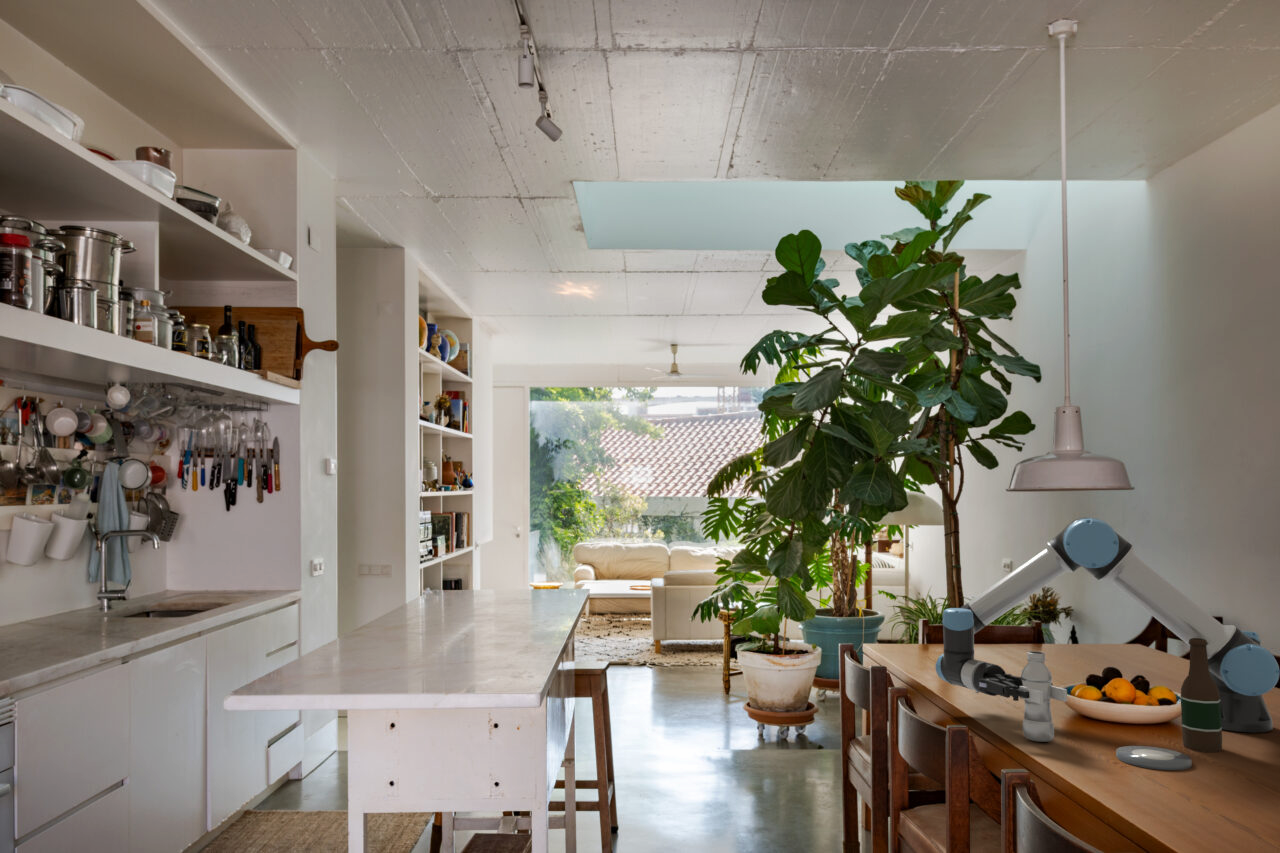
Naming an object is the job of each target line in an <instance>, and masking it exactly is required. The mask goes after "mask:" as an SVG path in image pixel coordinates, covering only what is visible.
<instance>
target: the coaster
mask: <svg viewBox="0 0 1280 853" xmlns="http://www.w3.org/2000/svg"><path fill="white" fill-rule="evenodd" d="M1115 756H1116V758H1117V759H1118V760H1119V761H1121V762H1122V763H1125V764H1127V765H1131V766H1135V767H1139V768H1144V769H1150V770H1151V769H1152V770H1159V771H1160V770H1161V771H1183V770H1188V769H1190V768H1192V765H1193V764H1192V758H1191V756H1189V755H1188V754H1185V753H1183V752H1180V751H1177V750H1174V749H1173V750H1172V749H1170V748H1163V747H1157V746H1147V745H1146V746H1145V745H1127V746H1120V747H1117V748H1116V749H1115Z"/></svg>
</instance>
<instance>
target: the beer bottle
mask: <svg viewBox="0 0 1280 853" xmlns="http://www.w3.org/2000/svg"><path fill="white" fill-rule="evenodd" d="M1189 644H1190V646H1189V667H1188V668H1189V670H1188V674H1187V676H1186V677H1185V679H1184V680H1183V682H1182V685H1181V688H1180V707H1181V708H1180V712H1181V733H1182V734H1181V736H1182V738H1181V739H1182V746H1183V747H1184V748H1187V749H1190V750H1192V751H1196V752H1203V753H1220V751H1221V750H1222V748H1223V729H1222V724H1221V701H1220V692H1219V689H1218V687H1217V684H1216V683H1215V681H1214V680H1213V679H1212V677H1211V676H1210V672H1209V666H1208V657H1207V648H1206V645H1207V644H1208V643H1207V640H1205V639H1201V638H1191V639H1189Z"/></svg>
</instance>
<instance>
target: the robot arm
mask: <svg viewBox="0 0 1280 853" xmlns="http://www.w3.org/2000/svg"><path fill="white" fill-rule="evenodd" d="M1134 548H1135V547H1134V546H1133V544H1131V543H1130V542H1129V541H1128V540H1126V539H1125V538H1124V537H1122V536H1121V535H1120V534H1119V533H1117V531H1115V530H1114V528H1113V527H1112V526H1111V525H1109V524H1108V523H1106V522H1105V521H1104V520H1102V519H1098V518H1093V517H1080V518H1077V519H1074V520H1072V521H1071V522H1069V523H1068V524H1067V525H1066V527H1064V528H1063V529H1062V530H1061V531H1060V532H1059V533H1058V534H1057V535H1056V536H1054V537H1053V538H1052V539H1050V540H1049V541H1047V542H1046V548H1044V549H1043V550H1041V551H1040V552H1039V553H1037V554H1035V556H1033V557H1031V558H1030V559H1029V560H1027V561H1026V562H1024V563H1023V564H1022V565H1020V566H1019V567H1017V568H1015V569H1013V571H1011V572H1010V573H1008V574H1007V575H1005V576H1004V577H1002V578H1001V579H999V580H998V581H997V582H995V583H994V584H993V585H991V586H989V587H988V588H987V589H985V590H984V591H982V592H981V593H980V594H978V595H977V596H975V597H974V598H973V599H971V600H970V601H968V602H967V603H966V604H964V605H962V606H961V607H950V608H946V609H944V610H943V611H942V621H941V622H942V632H943V633H942V634H943V653H941V655H939V656H938V657H937V661H936V663H935V667H934V668H935V672H936V675H937V676H938V678H940V679H941V680H942V681H944V682H947V683H948V684H950V685H954V686H958V687H961V688H965V689H969V690H973V691H974V692H975V694H979V693H981V694H985V695H988V696H992V697H995V696H1001V697H1003V698H1004V697H1005V698H1006V699H1008V698H1011V697H1012V700H1013V702H1015V701H1016V702H1019V699H1021V700H1024V701H1025V700H1028V701H1031V702H1035V703H1038V704H1043V692H1042V691H1039V690H1035V689H1031V688H1028V687H1024V686H1023V684H1022V679H1021V676H1017V675H1012V674H1010V673H1007V672H1005V670H1004V668H1002V666H1000V665H998V664H994V663H991V662H987V661H983V660H978V659H975V634H977V633H978V632H980V631H981V630H983V629H984V628H985V627H987V626H988V625H989V624H991V623H992V622H993V621H995V620H997V619H998V618H1000V617H1001V616H1003V615H1004V614H1006V613H1008V612H1009V611H1010V610H1012V609H1014V607H1016V606H1018V605H1019V604H1021V603H1022V602H1023V601H1025V600H1027V599H1028V598H1029V597H1031V596H1033V595H1034V594H1035V593H1037V592H1038V591H1039V590H1041V589H1043V588H1044V587H1046V586H1047V585H1049V584H1050V583H1052V582H1054V581H1055V580H1056V579H1058V578H1059V577H1060V576H1062V575H1063V574H1066V573H1074V572H1075V571H1076V570H1078V569H1080V568H1083V569H1084V570H1085V571H1087V573H1089V574H1090V575H1091V576H1093V577H1094V578H1095V579H1096V580H1098V581H1099V582H1101V581H1102V582H1104V581H1105V582H1107V581H1108V582H1110V583H1111V584H1112V585H1113V586H1115V587H1116V588H1118V589H1119V590H1120V591H1121V592H1123V594H1125V595H1126V596H1128V597H1129V598H1130V599H1131V600H1132V601H1133V602H1135V603H1136V604H1137V605H1138V606H1140V607H1141V608H1142V609H1144V611H1146V612H1147V613H1148V614H1150V615H1151V617H1154V619H1155V620H1156V621H1158V622H1159V623H1160V624H1162V625H1163V626H1165V627H1166V628H1167V630H1169V631H1170V632H1172V633H1173V634H1174V635H1175V636H1176V637H1178V638H1179V639H1180V640H1182V641H1183V642H1185V644H1186V645H1188V646H1189V647H1190V644H1189V639H1191V638H1201V639H1205V640H1207V643H1208V644H1207V645H1206V648H1207V657H1208V666H1209V672H1210V676H1211V677H1212V679H1213V680H1214V681H1215V683H1216V684H1217V687H1218V689H1219V692H1220V701H1221V724H1222V730H1224V731H1231V732H1239V733H1241V732H1242V733H1257V734H1258V732H1259V733H1267V732H1268V731H1269V732H1272V731H1273V729H1274V727H1273V726H1274V725H1273V719H1272V716H1271V714H1270V712H1269V709H1268V706H1267V704H1266V702H1265V699H1264V697H1263V695H1264V694H1266V693H1269V692H1271V691H1272V690H1273V689H1274V687H1275V686H1276V685H1277V683H1278V682H1279V679H1280V666H1279V664H1278V662H1277V659H1276V657H1275V655H1273V653H1272V652H1270V650H1268V649H1267V648H1265V647H1263V646H1261V644H1262V642H1261V639H1260V635H1259V633H1258V632H1256V631H1249V630H1248V631H1247V630H1241V629H1239V628H1238V627H1236V626H1235V625H1233V624H1231V625H1229V624H1227V625H1225V624H1222V623H1221V622H1220V621H1219V620H1217V619H1216V618H1215V617H1213V616H1212V615H1211V614H1210V613H1208V612H1207V611H1206V610H1204V609H1203V608H1202V607H1201V606H1199V604H1197V603H1195V602H1194V600H1192V599H1191V598H1189V597H1188V596H1186V594H1184V593H1183V592H1182V591H1181V590H1179V589H1178V588H1176V587H1175V586H1174V585H1173V584H1171V583H1170V582H1169V581H1168V580H1166V578H1165V577H1163V576H1162V575H1160V574H1159V573H1158V572H1157V571H1155V570H1154V569H1152V568H1151V567H1150V566H1149V565H1147V564H1146V563H1145V562H1144V561H1143V560H1141V559H1140V558H1139V557H1138V556H1136V555H1135V551H1134ZM1050 699H1052V700H1056V701H1060V702H1063V703H1067V702H1068V689H1066V688H1062V687H1059V686H1054V685H1053V682H1052V684H1051V693H1050ZM1271 730H1272V731H1271ZM1269 732H1268V733H1269Z"/></svg>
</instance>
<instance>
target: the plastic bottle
mask: <svg viewBox="0 0 1280 853" xmlns="http://www.w3.org/2000/svg"><path fill="white" fill-rule="evenodd" d="M1026 660H1027V663H1026V665H1025V666H1024V667H1023V669H1022V670H1021V673H1020V677H1021V679H1022V684H1023V686H1024V687H1028V688H1031V689H1035V690H1039V691H1042V692H1043V704H1038V703H1035V702H1031V701H1028V700H1024V712H1023V714H1024V716H1023V717H1024V718H1023V720H1022V730H1023V731H1022V732H1023V735H1024V737H1025V739H1027V740H1030V741H1034V742H1037V743H1043V742H1051V741H1053V739H1054V738H1055V737H1054V736H1055V728H1054V722H1053V719H1052V718H1053V717H1052V709H1051V698H1050V693H1051V684H1052V683H1053V675H1052V672H1051V671H1050V669H1049V668H1048V667H1047V665H1046V664H1045V662H1046V660H1047V659H1046V652H1043V651H1037V650H1035V651H1034V650H1030V651H1029V650H1028V651H1027V657H1026Z"/></svg>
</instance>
